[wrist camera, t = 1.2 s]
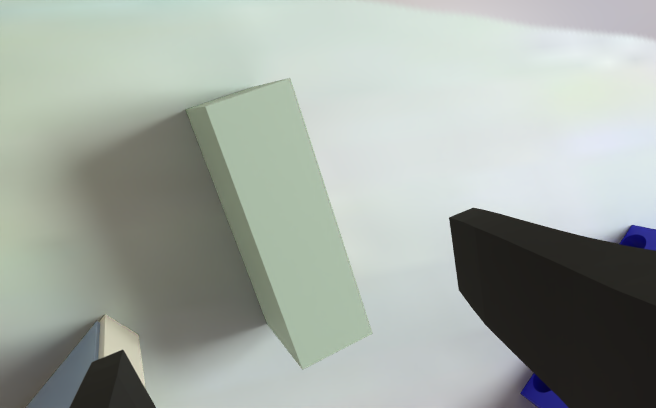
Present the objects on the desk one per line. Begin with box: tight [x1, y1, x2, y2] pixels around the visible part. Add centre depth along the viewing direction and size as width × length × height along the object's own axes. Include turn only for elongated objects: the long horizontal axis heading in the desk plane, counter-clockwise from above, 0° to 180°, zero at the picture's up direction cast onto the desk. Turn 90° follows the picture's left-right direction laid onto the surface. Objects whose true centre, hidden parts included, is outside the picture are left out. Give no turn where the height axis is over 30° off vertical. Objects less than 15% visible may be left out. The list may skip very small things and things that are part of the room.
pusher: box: [186, 78, 373, 370], centre depth 21 cm, size 10×3×5 cm, turn 20°
